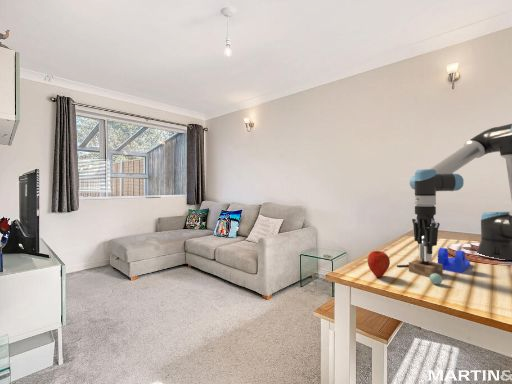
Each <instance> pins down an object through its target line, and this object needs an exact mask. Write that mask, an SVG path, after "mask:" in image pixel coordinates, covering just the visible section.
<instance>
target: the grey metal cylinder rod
mask: <svg viewBox="0 0 512 384" xmlns="http://www.w3.org/2000/svg"><path fill="white" fill-rule="evenodd" d="M424 245H426V241H425V235H422V236H421V251H422V264H424V265H429V261H424Z"/></svg>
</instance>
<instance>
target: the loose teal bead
mask: <svg viewBox="0 0 512 384" xmlns="http://www.w3.org/2000/svg"><path fill="white" fill-rule="evenodd" d="M429 281H430V282H431V283H432V284H434V285H440V284H442V282H443V277H442V276H441V274H440V275H439V274H436V273H434V274H431V275H430V277H429Z"/></svg>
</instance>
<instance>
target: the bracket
mask: <svg viewBox="0 0 512 384" xmlns="http://www.w3.org/2000/svg"><path fill="white" fill-rule="evenodd" d="M466 258H467V257H466V252H465V250H464V251H463V250H456V251H455V256H454V257H449V250H448V249H447V248H444V247H440V248H438V252H437V263H439V264H443V271H447V272H452V273H457V274H463V272H465V271H466V270H468V268H470V266H471V261H470V260H468V259H466Z"/></svg>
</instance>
